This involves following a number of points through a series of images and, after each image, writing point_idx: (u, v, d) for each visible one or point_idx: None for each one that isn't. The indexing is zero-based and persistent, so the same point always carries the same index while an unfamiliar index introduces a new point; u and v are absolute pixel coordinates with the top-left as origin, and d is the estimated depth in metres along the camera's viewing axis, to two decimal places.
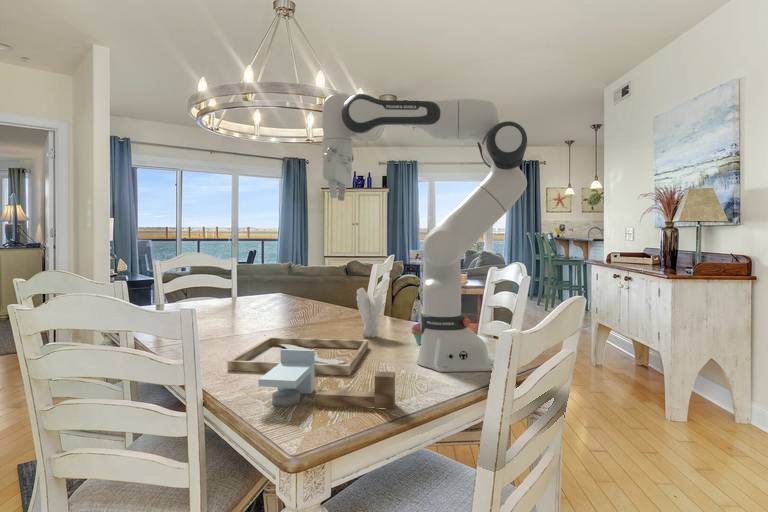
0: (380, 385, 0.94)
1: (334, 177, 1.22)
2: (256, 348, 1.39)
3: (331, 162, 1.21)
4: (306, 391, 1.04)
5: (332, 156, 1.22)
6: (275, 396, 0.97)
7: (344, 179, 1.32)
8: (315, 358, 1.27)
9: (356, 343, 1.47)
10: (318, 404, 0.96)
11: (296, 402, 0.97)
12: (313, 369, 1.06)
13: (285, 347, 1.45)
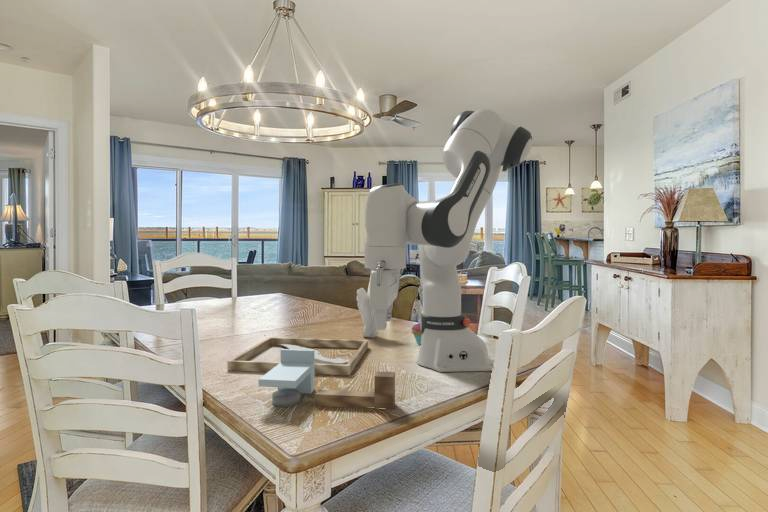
0: (380, 385, 0.94)
1: (385, 308, 0.86)
2: (256, 348, 1.39)
3: (382, 287, 0.85)
4: (306, 391, 1.04)
5: (383, 278, 0.86)
6: (275, 396, 0.97)
7: (393, 296, 0.96)
8: (320, 357, 1.28)
9: (356, 343, 1.47)
10: (318, 404, 0.96)
11: (296, 402, 0.97)
12: (313, 369, 1.06)
13: (287, 347, 1.45)
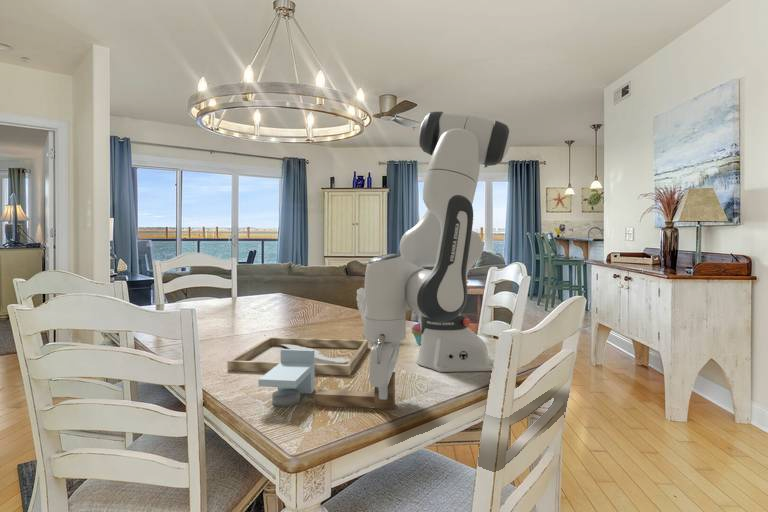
0: None
1: (386, 385, 0.86)
2: (256, 348, 1.39)
3: (381, 365, 0.86)
4: (306, 391, 1.04)
5: (383, 356, 0.86)
6: (275, 396, 0.97)
7: None
8: (321, 357, 1.28)
9: (356, 343, 1.47)
10: (318, 404, 0.96)
11: (296, 402, 0.97)
12: (313, 369, 1.06)
13: (287, 347, 1.45)
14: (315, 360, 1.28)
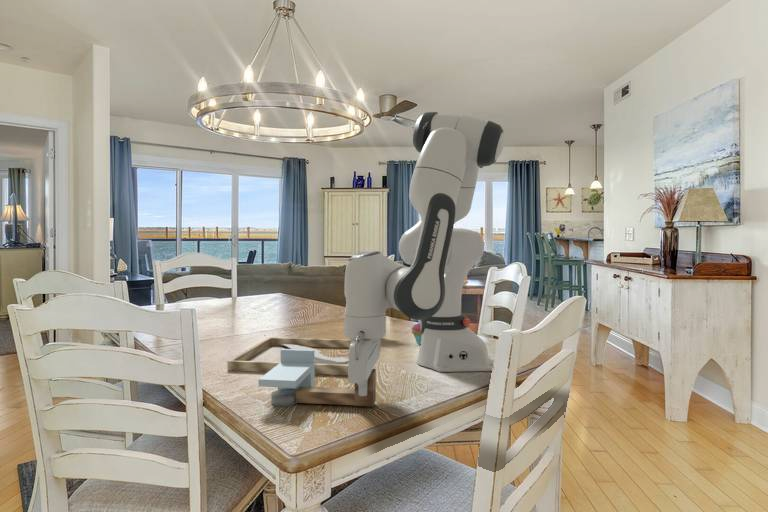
0: None
1: (364, 382, 0.87)
2: (256, 348, 1.39)
3: (360, 361, 0.86)
4: None
5: (361, 353, 0.87)
6: (274, 396, 0.97)
7: (374, 362, 0.97)
8: (322, 356, 1.29)
9: None
10: (299, 401, 0.97)
11: None
12: (313, 369, 1.06)
13: (287, 346, 1.46)
14: (315, 360, 1.28)
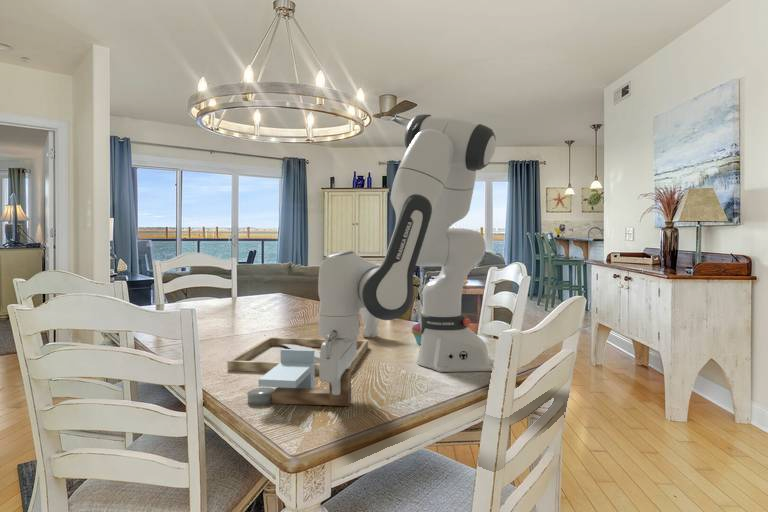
0: None
1: (335, 380, 0.87)
2: (256, 348, 1.39)
3: (331, 360, 0.87)
4: None
5: (332, 352, 0.87)
6: (251, 394, 0.98)
7: (348, 361, 0.98)
8: None
9: None
10: (275, 402, 0.97)
11: None
12: (313, 369, 1.06)
13: (287, 346, 1.46)
14: (316, 359, 1.28)
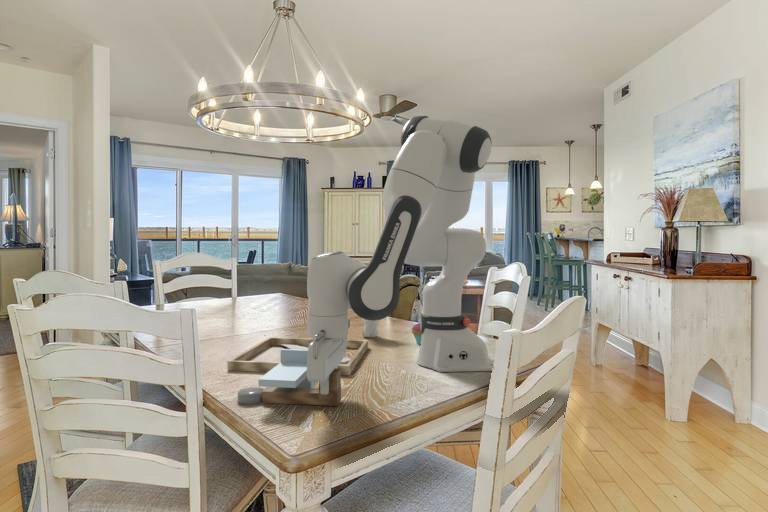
0: None
1: (322, 380, 0.88)
2: (256, 348, 1.39)
3: (318, 360, 0.87)
4: None
5: (319, 351, 0.88)
6: (240, 394, 0.98)
7: (337, 361, 0.98)
8: None
9: (356, 343, 1.47)
10: (265, 401, 0.98)
11: None
12: None
13: None
14: None
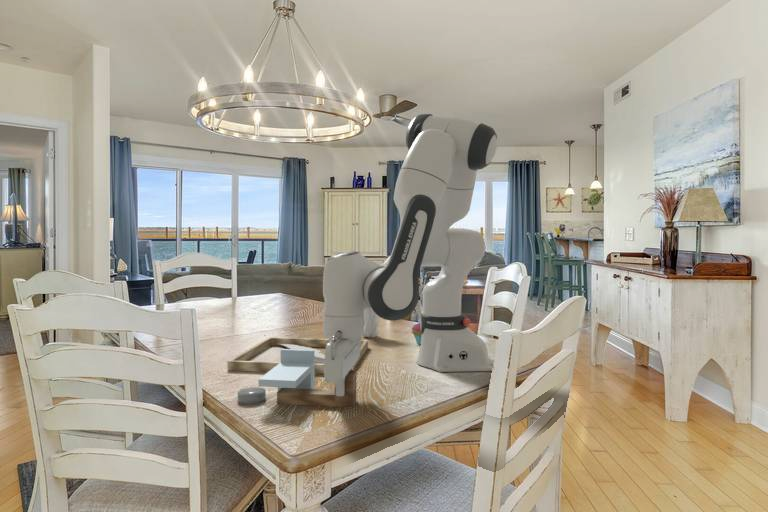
0: None
1: (340, 381, 0.87)
2: (256, 348, 1.39)
3: (336, 360, 0.87)
4: None
5: (337, 352, 0.87)
6: (240, 394, 0.98)
7: (353, 362, 0.98)
8: (322, 356, 1.29)
9: None
10: (280, 402, 0.97)
11: (262, 400, 0.99)
12: (313, 369, 1.06)
13: (286, 346, 1.46)
14: (316, 359, 1.29)
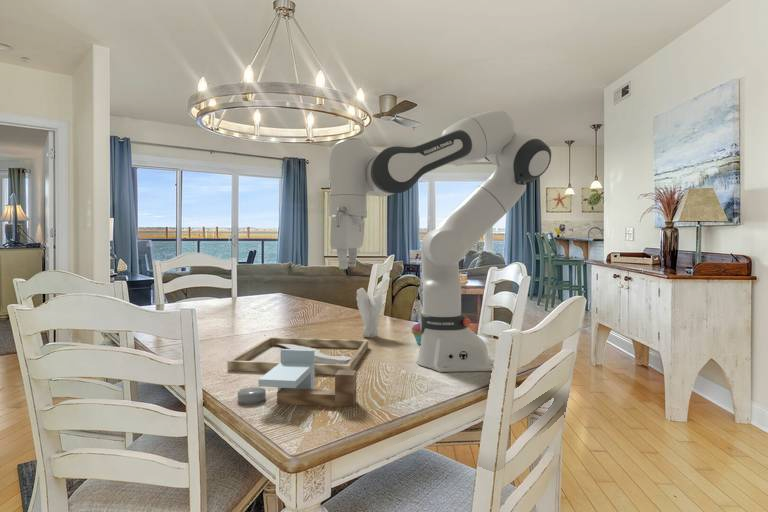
0: (340, 383, 0.95)
1: (344, 247, 0.96)
2: (256, 348, 1.39)
3: (341, 228, 0.96)
4: None
5: (342, 220, 0.96)
6: (240, 394, 0.98)
7: (356, 242, 1.06)
8: (323, 355, 1.30)
9: (356, 343, 1.47)
10: (280, 402, 0.97)
11: (262, 400, 0.99)
12: (313, 369, 1.06)
13: (284, 346, 1.46)
14: (316, 358, 1.29)
